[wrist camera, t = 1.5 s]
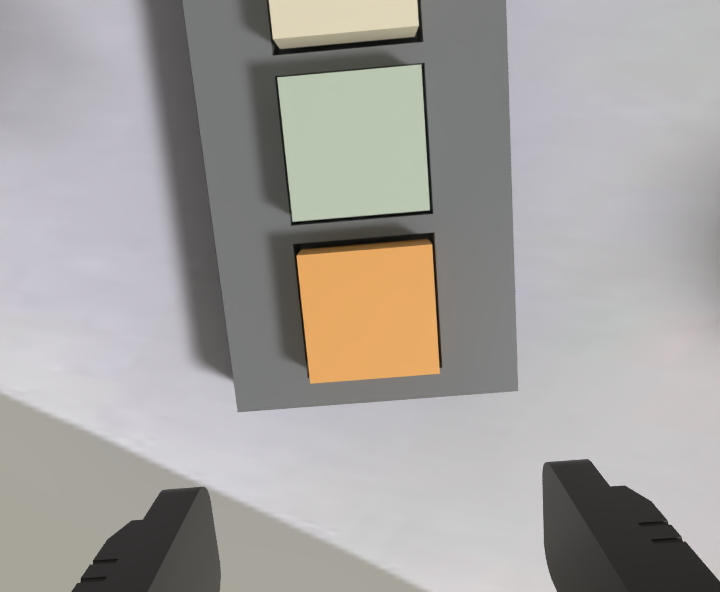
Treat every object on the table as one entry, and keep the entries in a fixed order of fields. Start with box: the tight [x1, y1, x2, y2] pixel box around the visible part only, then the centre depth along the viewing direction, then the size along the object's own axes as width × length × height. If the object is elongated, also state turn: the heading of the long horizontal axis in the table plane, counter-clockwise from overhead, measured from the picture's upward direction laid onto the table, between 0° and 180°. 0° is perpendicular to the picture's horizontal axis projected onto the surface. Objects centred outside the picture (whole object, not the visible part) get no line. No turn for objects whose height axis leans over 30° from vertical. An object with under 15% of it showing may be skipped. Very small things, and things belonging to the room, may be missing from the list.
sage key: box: [277, 65, 430, 222], centre depth 25 cm, size 6×6×2 cm
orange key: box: [297, 239, 440, 384], centre depth 26 cm, size 6×6×2 cm
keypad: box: [182, 0, 518, 412], centre depth 27 cm, size 23×13×3 cm, turn 5°
